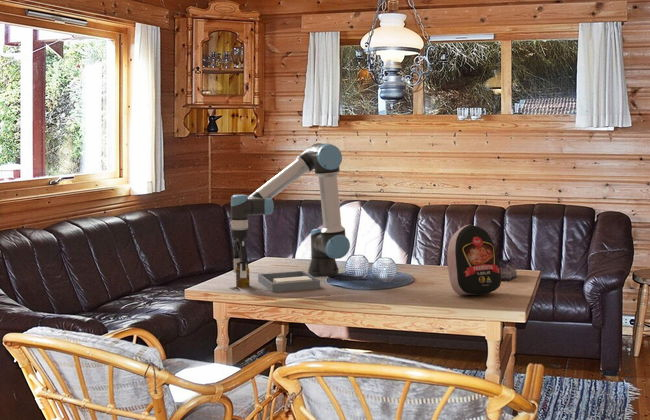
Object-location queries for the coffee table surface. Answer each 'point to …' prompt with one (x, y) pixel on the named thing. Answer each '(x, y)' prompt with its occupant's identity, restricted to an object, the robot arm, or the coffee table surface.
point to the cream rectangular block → (291, 279)
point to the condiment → (241, 279)
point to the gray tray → (279, 287)
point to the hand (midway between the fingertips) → (240, 275)
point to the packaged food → (473, 262)
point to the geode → (508, 269)
